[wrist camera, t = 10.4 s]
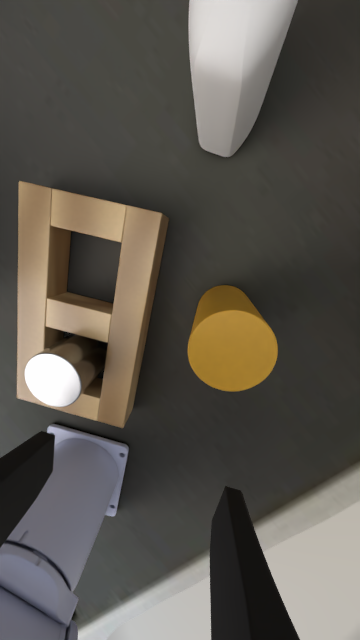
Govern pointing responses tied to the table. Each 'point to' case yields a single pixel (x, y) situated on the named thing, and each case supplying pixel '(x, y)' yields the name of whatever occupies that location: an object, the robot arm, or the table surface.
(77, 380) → the steel peg
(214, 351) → the yellow peg
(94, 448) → the robot arm
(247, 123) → the eye dropper bottle
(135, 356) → the peg stand
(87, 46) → the table surface
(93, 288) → the table surface
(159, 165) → the table surface
